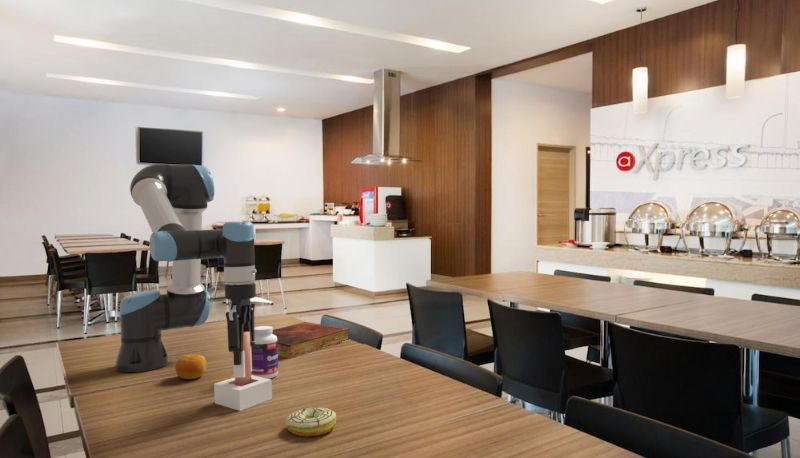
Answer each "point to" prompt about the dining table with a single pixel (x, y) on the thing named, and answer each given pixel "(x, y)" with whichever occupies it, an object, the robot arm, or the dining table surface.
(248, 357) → the peg
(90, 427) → the dining table surface
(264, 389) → the socket block
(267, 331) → the pill bottle
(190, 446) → the dining table surface
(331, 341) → the book
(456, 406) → the dining table surface
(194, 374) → the fruit
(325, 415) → the decorated donut
